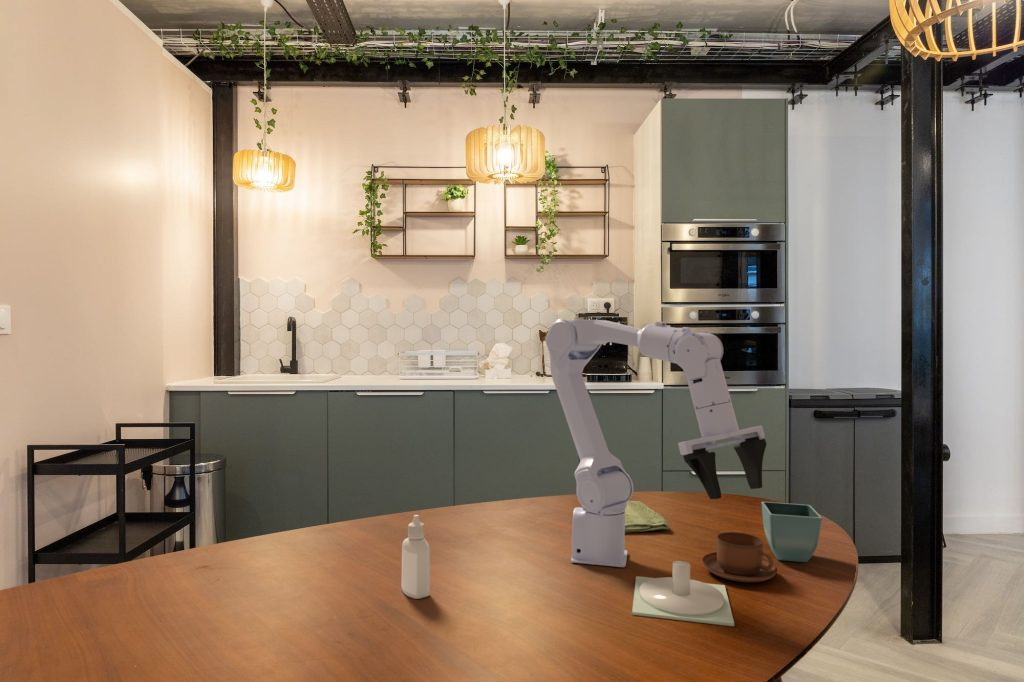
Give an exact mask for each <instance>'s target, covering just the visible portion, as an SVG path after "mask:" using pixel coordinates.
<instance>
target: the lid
mask: <svg viewBox="0 0 1024 682" xmlns="http://www.w3.org/2000/svg"><path fill="white" fill-rule="evenodd" d="M671 573H672V576H670V577H669V576H667V577H666V576H665V577H656V578H655V577H654V578H655V579H651V580H648V581H646V582H644V583H643V584H641V586H640V598H641V599H642V600H643V601H644V602H645V603H646V604H648V605H649V606H651V607H653V608H655V609H658V610H661V611H664V612H668V613H672V614H677V615H686V616H701V615H708V614H712V613H715V612H718V611H719V610H721V609H722V607H723V605H724V597H723V594H722V593H721V592H720V591H719V590H718V589H716V588H714V587H713V586H711V585H708V584H709V583H708V584H706V583H707V582H702V581H699V580H696V579H691V563H689V562H688V561H683V560H675V561H673V562H672V571H671Z"/></svg>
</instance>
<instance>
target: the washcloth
mask: <svg viewBox="0 0 1024 682" xmlns="http://www.w3.org/2000/svg"><path fill="white" fill-rule="evenodd" d="M669 529H670V526H669V522H668V521H667V520H666V518H665V517H664V516H663V515H662V514H660V513H659V512H657V511H655V510H654V509H651V508H650V507H649V506H648V505H647V504H645V503H644V502H642V501H640V500H639V501H638V500H629V501H627V508H625V534H626V533H642V532H649V531H669Z"/></svg>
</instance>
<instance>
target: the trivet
mask: <svg viewBox="0 0 1024 682" xmlns="http://www.w3.org/2000/svg"><path fill="white" fill-rule="evenodd" d="M651 579H655V577H648V576H638V575H637V576H635V582H634V583H635V584H634V591H633V601H632V608H631V609H632V611H631V614H632V615H633V616H640V617H647V618H659V619H667V620H675V621H676V620H677V621H685V622H694V623H702V624H709V625H710V624H711V625H718V626H728V627H735V620H734V617H733V612H732V609H731V605H730V601H729V600H730V599H729V597H728V594H727V590H726V585H725V584H717V583H716V584H715V583H707V582H705V583H706V584H708V585H711V586H713V587H714V588H716V589H718V590H719V591H720V592H721V593H722V594H723V597H724V605H723V607H722V609H721V610H719V611H718V612H715V613H712V614H708V615H701V616H686V615H677V614H672V613H668V612H664V611H661V610H658V609H655V608H653V607H651V606H649V605H648V604H646V603H645V602H644V601H643V600H642V599H641V598H640V586H641V584H643V583H644V582H646V581H648V580H651Z"/></svg>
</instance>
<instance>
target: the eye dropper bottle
mask: <svg viewBox="0 0 1024 682" xmlns="http://www.w3.org/2000/svg"><path fill="white" fill-rule="evenodd" d="M407 525H408V527H407V528H408V529H407V538H405V539H404V540H403V541H402V544H401V590H402V592H403V594H404V595H406V596H407V597H409V598H411V599H415V600H418V599H423V598H427V597H429V596H430V592H431V591H430V589H431V586H430V585H431V584H430V583H431V581H430V579H431V578H430V576H431V549H430V545H429V543H428V542H427V540H426V538H425V524H424V523H423V522H421V521H420V516H419V514H414V515H413V519H412V522H410V523H409V524H407Z"/></svg>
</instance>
